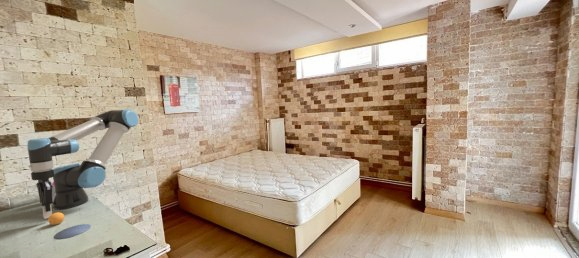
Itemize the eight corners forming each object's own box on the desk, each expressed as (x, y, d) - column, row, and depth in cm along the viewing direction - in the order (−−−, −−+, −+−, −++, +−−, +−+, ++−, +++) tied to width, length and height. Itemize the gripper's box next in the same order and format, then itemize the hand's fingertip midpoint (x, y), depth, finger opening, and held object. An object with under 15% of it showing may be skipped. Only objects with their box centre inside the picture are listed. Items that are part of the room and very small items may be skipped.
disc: (64, 227, 107) (64, 227, 107) (95, 222, 111) (95, 222, 111) (46, 241, 96) (46, 241, 96) (82, 235, 99) (82, 235, 99)
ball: (53, 222, 113) (52, 211, 112) (67, 220, 115) (66, 209, 114) (46, 227, 108) (44, 216, 107) (60, 225, 109) (59, 214, 109)
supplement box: (55, 203, 138) (52, 184, 137) (47, 202, 139) (44, 184, 138) (66, 199, 144) (63, 181, 142) (59, 198, 145) (56, 181, 144)
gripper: (26, 171, 112) (32, 218, 113) (35, 173, 105) (41, 223, 107) (48, 167, 118) (53, 212, 120) (57, 169, 112) (63, 216, 114)
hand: (48, 217), depth 113 cm, fingers closed
